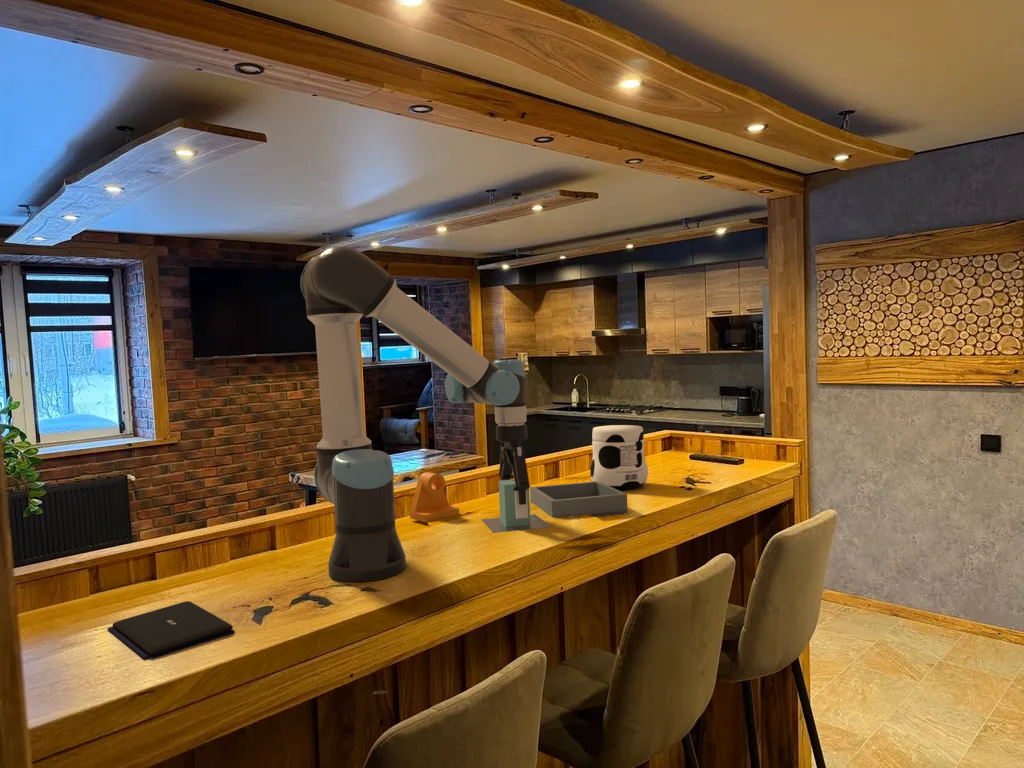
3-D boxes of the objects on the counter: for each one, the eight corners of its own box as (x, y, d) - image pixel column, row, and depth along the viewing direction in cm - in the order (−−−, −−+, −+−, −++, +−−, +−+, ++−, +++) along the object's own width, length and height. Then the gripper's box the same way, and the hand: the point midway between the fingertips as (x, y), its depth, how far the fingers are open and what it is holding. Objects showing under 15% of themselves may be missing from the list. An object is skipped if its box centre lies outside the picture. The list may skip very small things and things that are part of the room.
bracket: (426, 525, 177) (424, 478, 176) (410, 521, 183) (408, 475, 182) (461, 518, 184) (459, 472, 183) (445, 514, 189) (443, 469, 189)
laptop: (123, 670, 101) (122, 656, 101) (105, 629, 117) (104, 617, 117) (238, 640, 110) (238, 627, 110) (207, 605, 126) (207, 594, 126)
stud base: (493, 537, 163) (492, 511, 163) (481, 523, 177) (480, 499, 177) (551, 531, 167) (550, 505, 166) (535, 518, 180) (534, 494, 180)
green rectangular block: (506, 527, 168) (504, 485, 168) (500, 521, 174) (498, 480, 174) (530, 524, 170) (528, 482, 169) (523, 519, 175) (522, 478, 175)
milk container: (607, 479, 229) (605, 424, 228) (657, 483, 219) (655, 425, 218) (580, 489, 215) (578, 430, 214) (632, 494, 205) (630, 432, 204)
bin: (552, 521, 176) (551, 501, 176) (530, 505, 196) (530, 487, 195) (627, 513, 181) (627, 494, 181) (599, 498, 200) (598, 481, 200)
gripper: (541, 427, 160) (544, 521, 161) (513, 418, 184) (516, 500, 185) (508, 430, 158) (512, 524, 159) (485, 420, 182) (488, 502, 183)
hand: (514, 511), depth 172 cm, fingers open, 13 cm apart
